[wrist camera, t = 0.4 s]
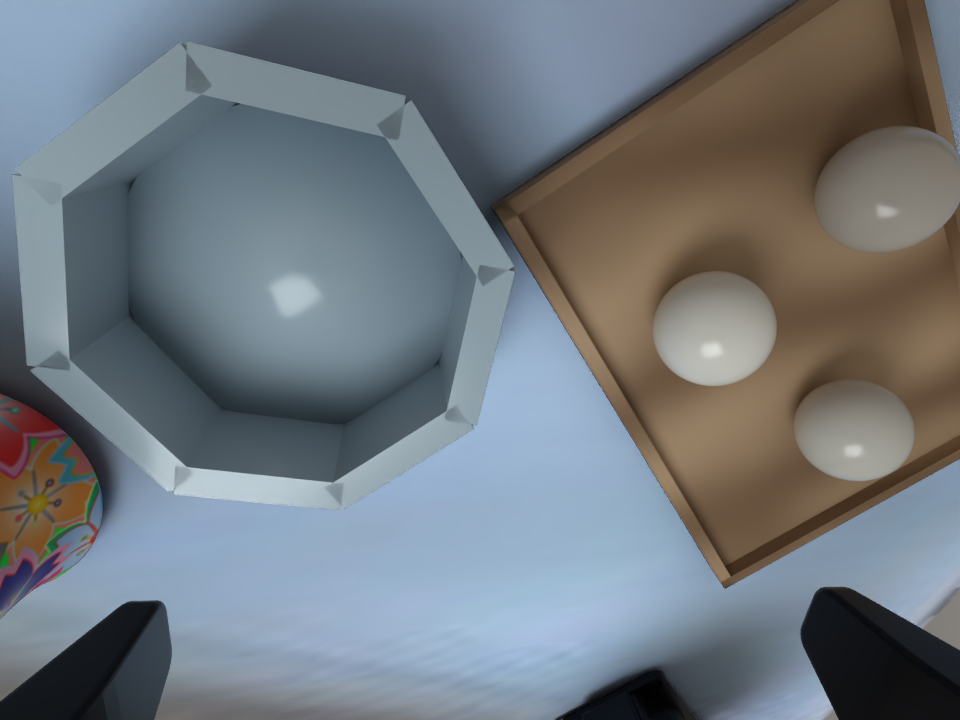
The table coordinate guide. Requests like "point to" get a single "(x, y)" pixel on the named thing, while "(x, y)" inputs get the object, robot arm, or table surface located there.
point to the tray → (756, 269)
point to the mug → (41, 502)
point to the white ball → (714, 328)
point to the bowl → (259, 280)
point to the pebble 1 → (888, 189)
